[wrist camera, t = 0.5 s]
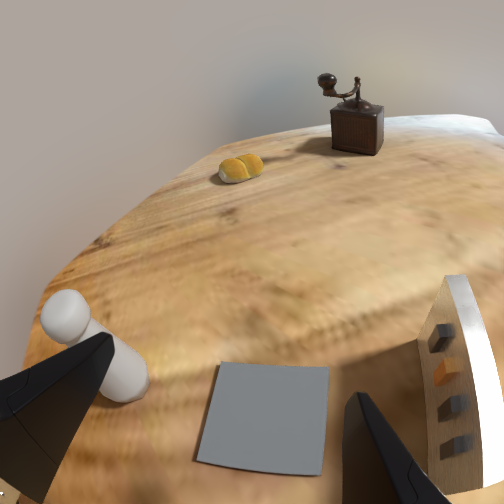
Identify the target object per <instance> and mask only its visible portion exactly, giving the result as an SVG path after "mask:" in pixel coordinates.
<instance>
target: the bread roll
mask: <svg viewBox="0 0 504 504" xmlns="http://www.w3.org/2000/svg"><path fill="white" fill-rule="evenodd" d="M263 168H264V165H263V162H262V160H261V159H260V158H259V157H258V156H256V155H253V154H246V155H241V156H238V157H236V158H235V159H234V158H231V159H227V160H224V161H223V162H222V163H221V164H220V165H219V177H220V178H221V180H222V181H224V182H225V183H239V182H243V181H246V180H248V179H250V178H255V177H257V176H259V175H260V174H261V173H262V171H263Z"/></svg>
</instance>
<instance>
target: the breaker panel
mask: <svg viewBox="0 0 504 504" xmlns="http://www.w3.org/2000/svg"><path fill="white" fill-rule="evenodd" d="M417 343H418V349H419V355H420V362H421V369H422V377H423V385H424V394H425V405H426V419H427V439H428V478H429V479H430V480H431V482H432V483H433V484H434V485H435V486H436V487H437V488H438V489H439V491H440V492H441V493H442V494H443V495H451V494H456V493H462V492H467V491H472V490H476V489H480V488H484V487H487V486H489V485H492V484H494V483H497V482H499V481H502V480H504V407H503V400H502V395H501V389H500V384H499V379H498V375H497V370H496V366H495V362H494V358H493V354H492V350H491V347H490V343H489V340H488V336H487V333H486V330H485V326H484V323H483V320H482V317H481V314H480V311H479V309H478V306H477V303H476V300H475V298H474V295H473V292H472V290H471V287H470V285H469V282H468V280H467V277H466V275H465V274H464V275H445V277H444V279H443V282H442V284H441V287H440V289H439V292H438V294H437V296H436V299H435V301H434V303H433V306H432V308H431V310H430V312H429V315H428V317H427V319H426V321H425V323H424V325H423V327H422V329H421V331H420V333H419V335H418V337H417Z"/></svg>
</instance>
